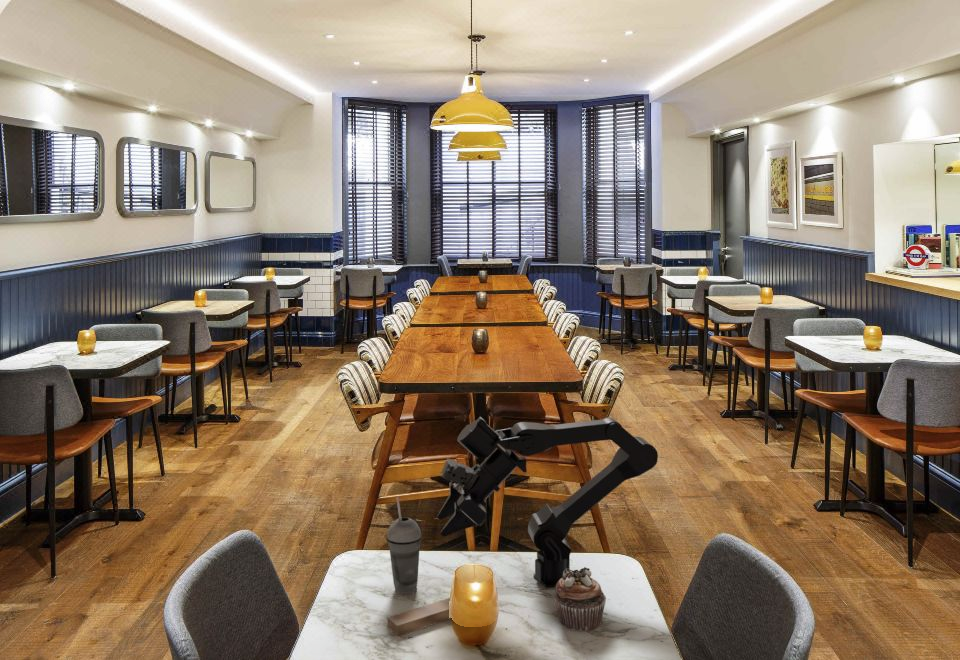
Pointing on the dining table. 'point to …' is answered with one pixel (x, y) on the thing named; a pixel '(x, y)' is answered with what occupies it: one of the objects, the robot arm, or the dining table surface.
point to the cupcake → (579, 600)
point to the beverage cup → (404, 553)
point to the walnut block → (419, 617)
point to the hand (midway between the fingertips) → (440, 526)
